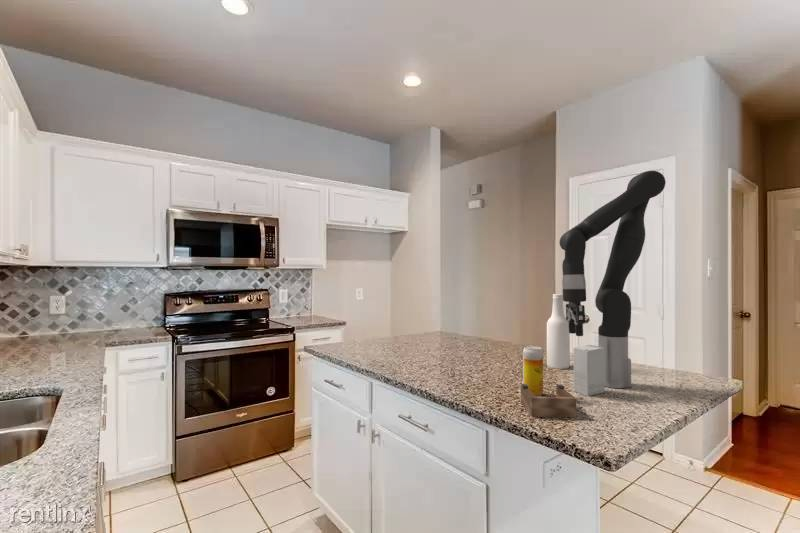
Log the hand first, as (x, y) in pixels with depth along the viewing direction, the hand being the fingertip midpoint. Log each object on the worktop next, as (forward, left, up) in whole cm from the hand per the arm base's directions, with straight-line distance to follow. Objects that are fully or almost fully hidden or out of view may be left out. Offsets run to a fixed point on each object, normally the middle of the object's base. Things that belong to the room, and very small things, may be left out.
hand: (575, 334), depth 142 cm
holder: (+18, +24, -18) cm, 35 cm away
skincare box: (-1, +8, -18) cm, 20 cm away
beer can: (+18, +11, -18) cm, 27 cm away
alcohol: (-3, -27, -18) cm, 33 cm away
